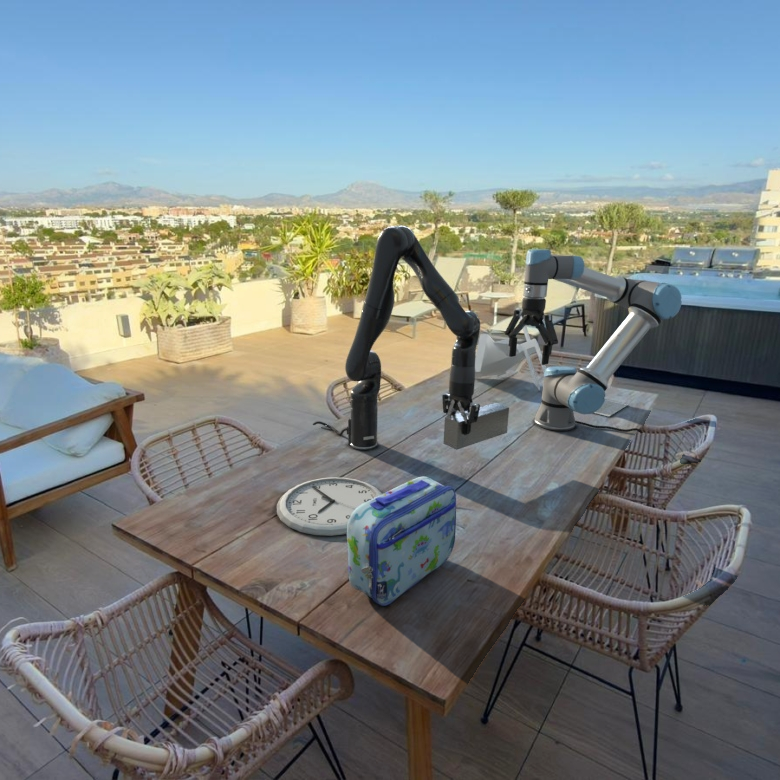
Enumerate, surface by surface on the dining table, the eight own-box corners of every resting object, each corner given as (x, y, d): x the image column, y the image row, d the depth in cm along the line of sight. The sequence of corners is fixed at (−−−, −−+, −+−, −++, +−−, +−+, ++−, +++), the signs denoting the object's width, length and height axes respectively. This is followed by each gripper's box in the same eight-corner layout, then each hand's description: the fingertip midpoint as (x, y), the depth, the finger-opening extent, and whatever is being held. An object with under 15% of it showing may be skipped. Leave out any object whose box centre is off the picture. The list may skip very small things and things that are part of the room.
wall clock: (392, 527, 129) (268, 531, 127) (391, 533, 130) (269, 537, 127) (383, 473, 158) (282, 475, 155) (383, 478, 158) (282, 480, 156)
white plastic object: (486, 419, 265) (465, 396, 240) (467, 347, 287) (447, 319, 262) (557, 395, 253) (543, 369, 228) (532, 321, 275) (517, 290, 250)
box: (493, 427, 177) (495, 402, 174) (506, 432, 173) (509, 407, 170) (443, 443, 163) (444, 416, 160) (456, 449, 159) (458, 422, 156)
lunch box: (376, 619, 101) (377, 524, 95) (340, 592, 109) (339, 502, 102) (459, 562, 119) (465, 479, 113) (424, 542, 126) (427, 463, 120)
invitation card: (608, 416, 214) (573, 407, 224) (608, 416, 214) (573, 408, 224) (628, 404, 229) (594, 396, 238) (628, 405, 229) (594, 397, 238)
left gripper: (436, 375, 160) (433, 426, 165) (471, 386, 149) (467, 441, 154) (454, 371, 164) (451, 421, 169) (488, 382, 153) (484, 435, 158)
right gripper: (497, 294, 179) (492, 354, 186) (560, 302, 161) (552, 369, 167) (511, 292, 184) (506, 351, 190) (574, 301, 165) (566, 366, 172)
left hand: (458, 430), depth 162 cm, fingers closed on box, 6 cm apart
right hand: (528, 360), depth 179 cm, fingers open, 13 cm apart
